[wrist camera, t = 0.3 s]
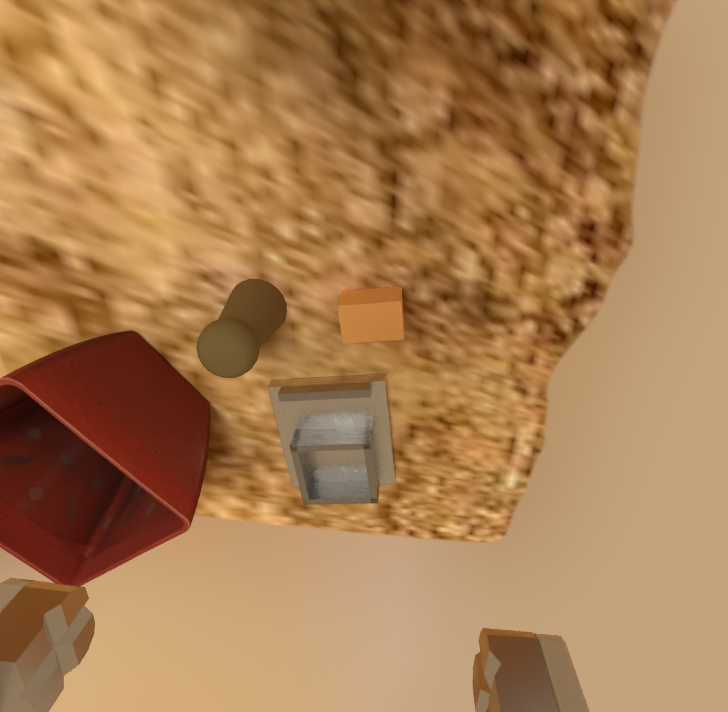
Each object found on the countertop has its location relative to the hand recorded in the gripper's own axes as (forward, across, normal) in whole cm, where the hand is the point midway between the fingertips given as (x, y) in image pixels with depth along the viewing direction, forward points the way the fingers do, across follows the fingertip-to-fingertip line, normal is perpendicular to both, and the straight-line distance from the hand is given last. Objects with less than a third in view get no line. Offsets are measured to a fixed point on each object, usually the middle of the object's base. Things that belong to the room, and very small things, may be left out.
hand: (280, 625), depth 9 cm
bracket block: (+39, 0, +5) cm, 39 cm away
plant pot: (+40, +27, +18) cm, 52 cm away
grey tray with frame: (+40, +4, +21) cm, 46 cm away
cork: (+39, +12, +6) cm, 41 cm away
